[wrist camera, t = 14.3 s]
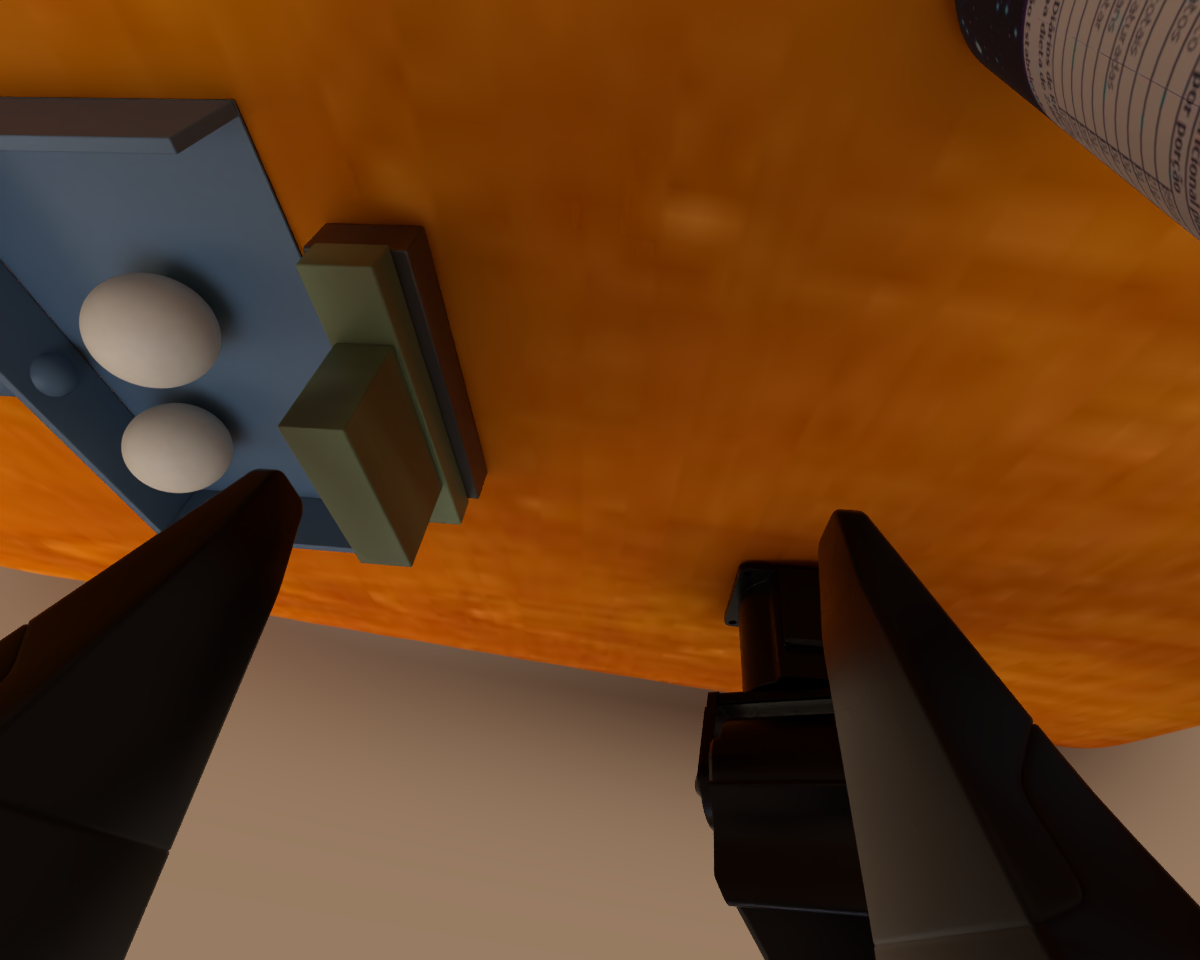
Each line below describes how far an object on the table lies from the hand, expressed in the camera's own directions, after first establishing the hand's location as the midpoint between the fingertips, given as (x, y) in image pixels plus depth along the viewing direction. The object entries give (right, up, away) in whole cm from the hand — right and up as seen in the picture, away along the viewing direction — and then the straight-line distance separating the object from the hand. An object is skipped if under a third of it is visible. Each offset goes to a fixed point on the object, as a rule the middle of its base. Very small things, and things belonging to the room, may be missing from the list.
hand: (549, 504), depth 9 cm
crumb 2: (-17, +3, +17) cm, 24 cm away
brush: (-6, +5, +14) cm, 16 cm away
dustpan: (-21, +6, +15) cm, 26 cm away
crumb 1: (-16, +7, +12) cm, 21 cm away
